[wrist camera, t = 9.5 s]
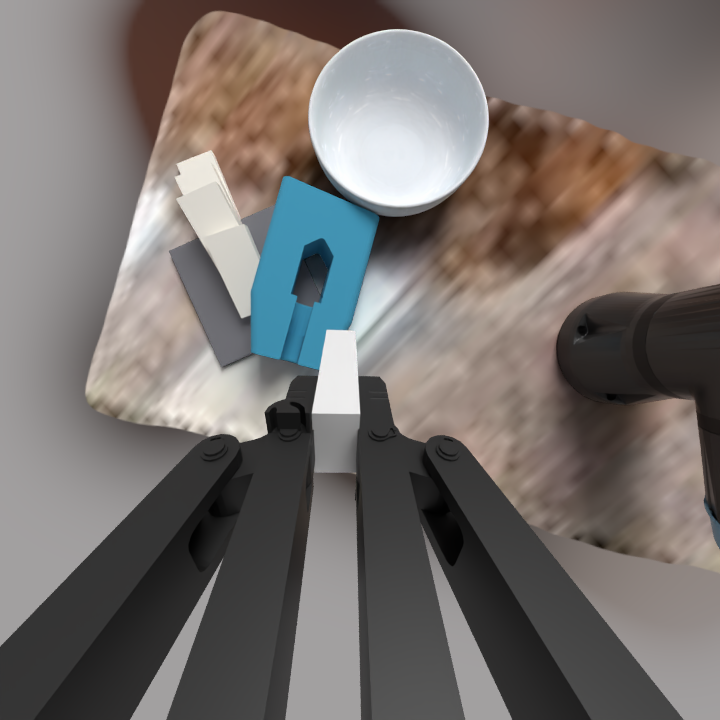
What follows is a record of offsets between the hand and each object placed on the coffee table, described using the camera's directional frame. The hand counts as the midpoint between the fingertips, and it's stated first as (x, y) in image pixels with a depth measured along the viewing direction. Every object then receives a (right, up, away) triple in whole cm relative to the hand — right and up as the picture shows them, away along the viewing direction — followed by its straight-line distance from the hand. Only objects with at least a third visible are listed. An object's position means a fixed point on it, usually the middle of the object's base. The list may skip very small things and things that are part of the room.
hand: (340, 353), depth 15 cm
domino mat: (-14, +10, +23) cm, 28 cm away
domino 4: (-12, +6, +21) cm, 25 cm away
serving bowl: (+5, +27, +23) cm, 36 cm away
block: (-8, -1, +18) cm, 20 cm away
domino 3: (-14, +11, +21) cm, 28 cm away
